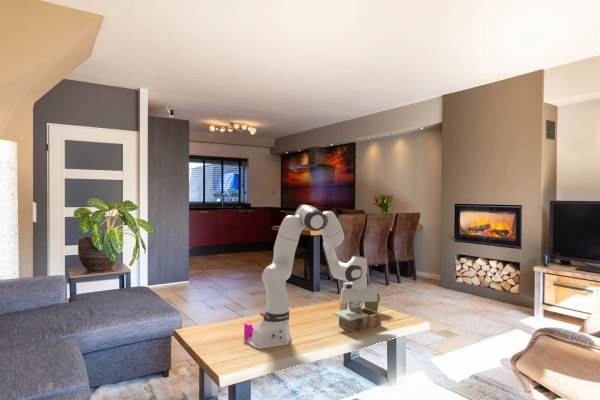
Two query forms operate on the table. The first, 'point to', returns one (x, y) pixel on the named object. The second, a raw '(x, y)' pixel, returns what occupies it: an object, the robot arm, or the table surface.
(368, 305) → the plant pot
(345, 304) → the wooden block
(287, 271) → the robot arm
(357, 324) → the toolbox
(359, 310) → the lid
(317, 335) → the table surface
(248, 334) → the toy block
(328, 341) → the table surface
